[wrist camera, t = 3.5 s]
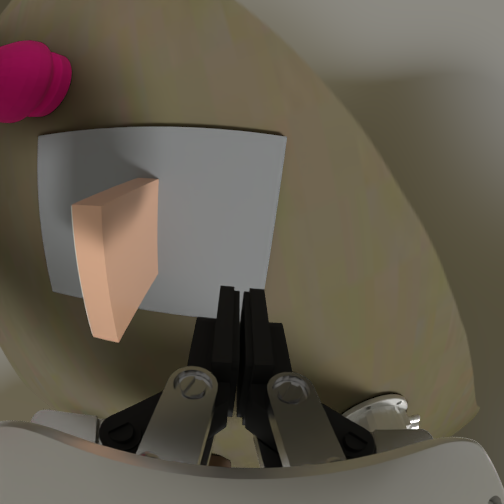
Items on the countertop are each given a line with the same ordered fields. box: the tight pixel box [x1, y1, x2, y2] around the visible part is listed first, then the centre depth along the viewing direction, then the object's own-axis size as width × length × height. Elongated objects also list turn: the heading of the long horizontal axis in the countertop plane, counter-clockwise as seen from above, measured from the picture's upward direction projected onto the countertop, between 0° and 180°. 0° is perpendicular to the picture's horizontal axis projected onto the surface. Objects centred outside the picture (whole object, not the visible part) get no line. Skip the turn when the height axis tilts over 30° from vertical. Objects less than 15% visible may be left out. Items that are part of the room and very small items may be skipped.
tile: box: [71, 178, 159, 343], centre depth 16 cm, size 2×8×9 cm, turn 173°
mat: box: [37, 127, 287, 318], centre depth 21 cm, size 22×16×1 cm
